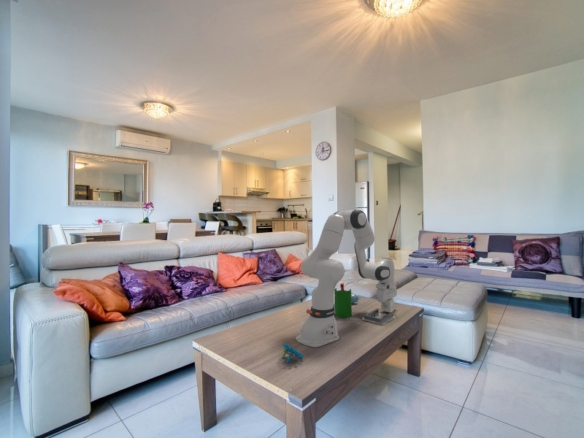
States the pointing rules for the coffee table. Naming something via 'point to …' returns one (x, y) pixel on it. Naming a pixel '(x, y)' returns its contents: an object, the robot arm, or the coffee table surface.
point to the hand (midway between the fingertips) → (387, 306)
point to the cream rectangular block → (388, 306)
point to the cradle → (378, 317)
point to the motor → (343, 302)
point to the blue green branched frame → (291, 352)
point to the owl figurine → (353, 298)
